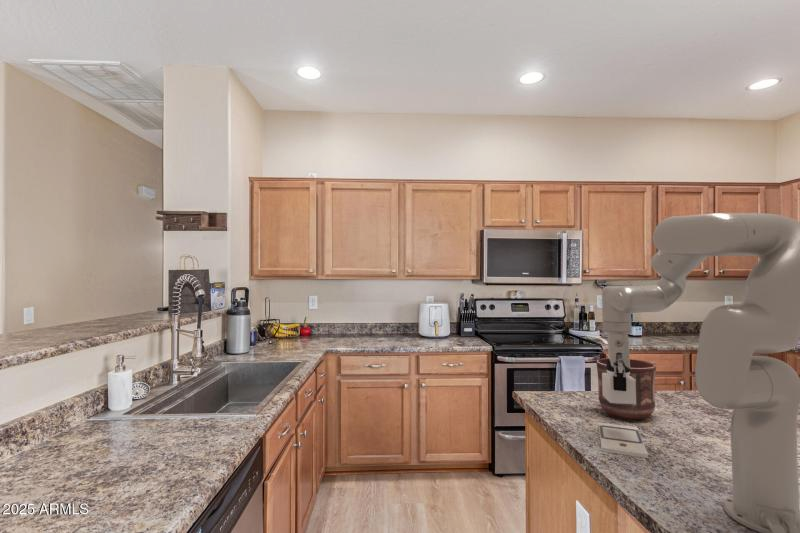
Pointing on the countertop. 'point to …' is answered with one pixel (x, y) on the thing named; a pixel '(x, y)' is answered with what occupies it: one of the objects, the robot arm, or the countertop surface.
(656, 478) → the countertop surface
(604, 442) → the board
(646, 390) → the pottery
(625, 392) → the medicine bottle
